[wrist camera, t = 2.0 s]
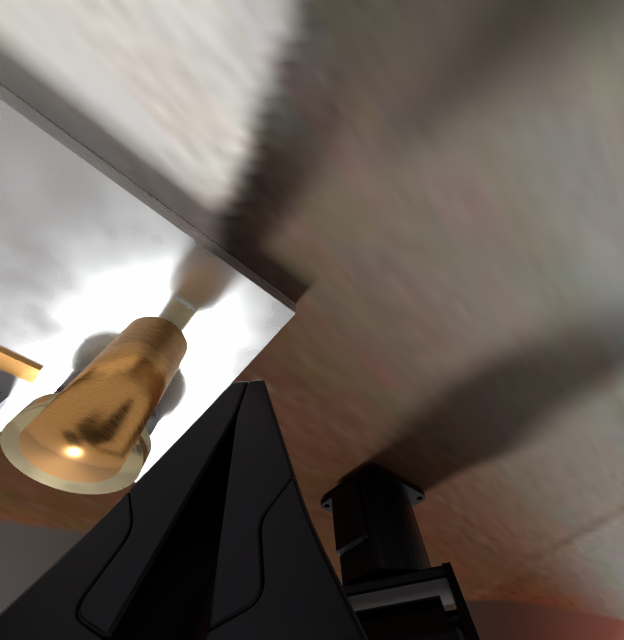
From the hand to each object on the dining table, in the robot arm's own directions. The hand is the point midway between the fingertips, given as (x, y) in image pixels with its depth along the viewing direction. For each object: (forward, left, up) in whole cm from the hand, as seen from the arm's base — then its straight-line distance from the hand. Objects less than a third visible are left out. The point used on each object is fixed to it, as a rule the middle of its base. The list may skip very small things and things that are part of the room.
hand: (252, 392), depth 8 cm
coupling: (+3, +9, -5) cm, 11 cm away
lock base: (+6, +9, -8) cm, 14 cm away
